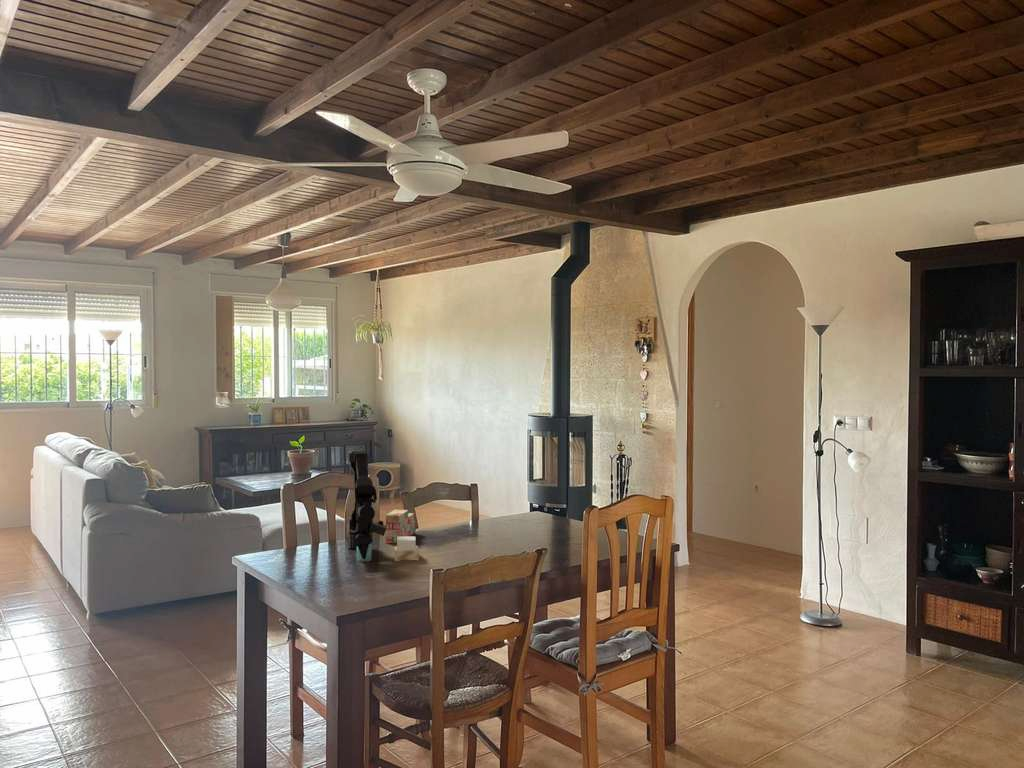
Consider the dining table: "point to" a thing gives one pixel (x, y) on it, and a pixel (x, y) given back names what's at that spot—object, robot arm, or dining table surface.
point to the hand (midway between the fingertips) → (364, 557)
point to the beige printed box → (399, 525)
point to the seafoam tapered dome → (368, 555)
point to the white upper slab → (406, 543)
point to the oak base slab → (406, 554)
